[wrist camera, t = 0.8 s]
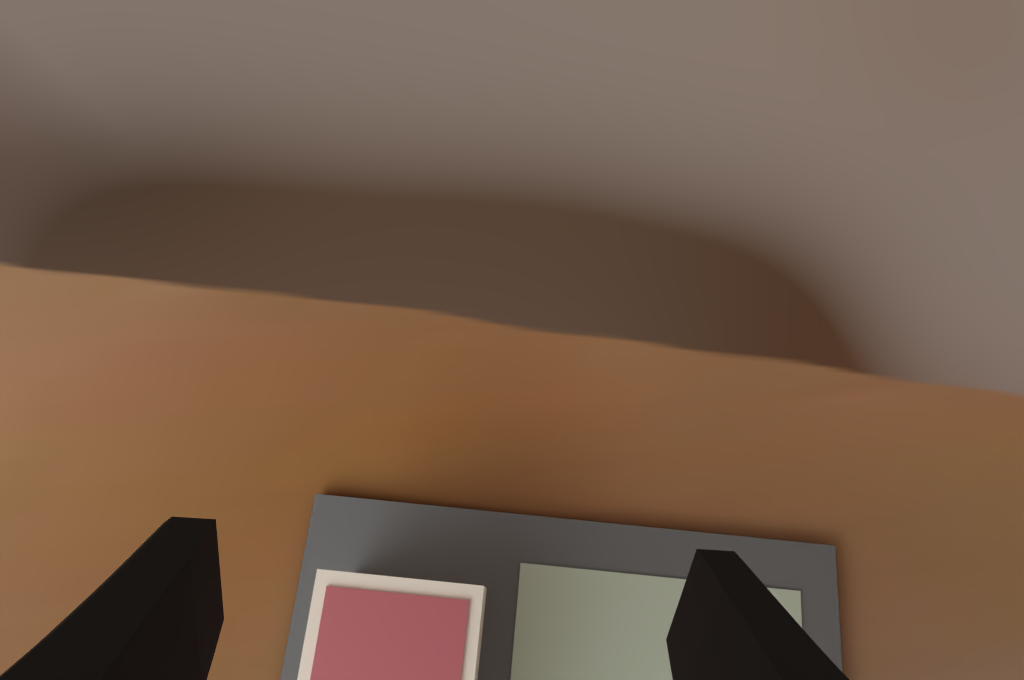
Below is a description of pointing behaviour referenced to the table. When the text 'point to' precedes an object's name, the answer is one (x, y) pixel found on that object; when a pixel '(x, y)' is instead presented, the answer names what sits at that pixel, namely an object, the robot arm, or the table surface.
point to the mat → (556, 582)
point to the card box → (392, 629)
